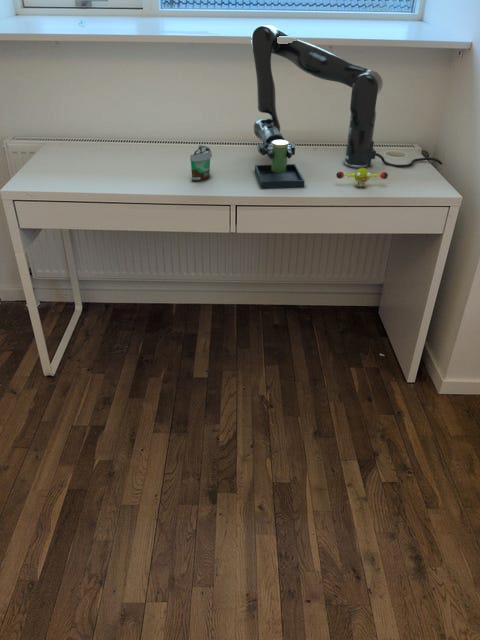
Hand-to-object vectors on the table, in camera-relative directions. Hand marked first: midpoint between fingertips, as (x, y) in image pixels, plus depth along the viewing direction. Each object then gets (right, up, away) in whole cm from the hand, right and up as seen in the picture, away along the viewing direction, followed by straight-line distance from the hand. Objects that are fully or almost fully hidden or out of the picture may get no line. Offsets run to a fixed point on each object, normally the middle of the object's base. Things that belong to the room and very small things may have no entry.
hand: (280, 156), depth 189 cm
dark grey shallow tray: (0, -6, +7) cm, 10 cm away
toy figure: (+28, -11, +2) cm, 30 cm away
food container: (-27, -6, +8) cm, 29 cm away
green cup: (0, -3, +6) cm, 6 cm away
